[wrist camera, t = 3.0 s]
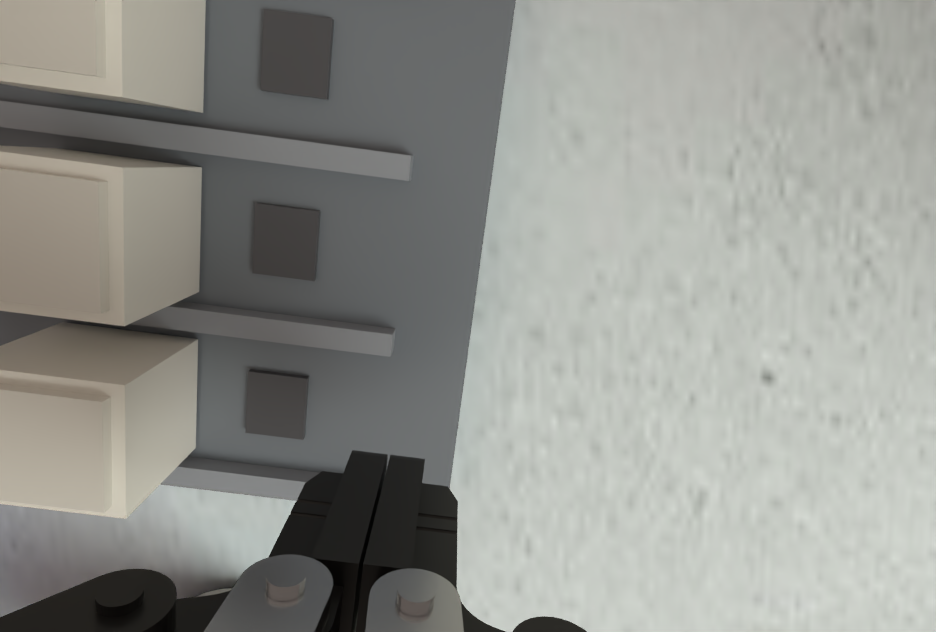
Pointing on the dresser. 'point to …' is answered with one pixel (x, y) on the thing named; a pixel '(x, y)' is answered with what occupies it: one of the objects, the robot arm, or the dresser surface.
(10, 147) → the tab mid
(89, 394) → the tab far
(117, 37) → the tab near
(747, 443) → the dresser surface
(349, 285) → the switch bank
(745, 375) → the dresser surface
